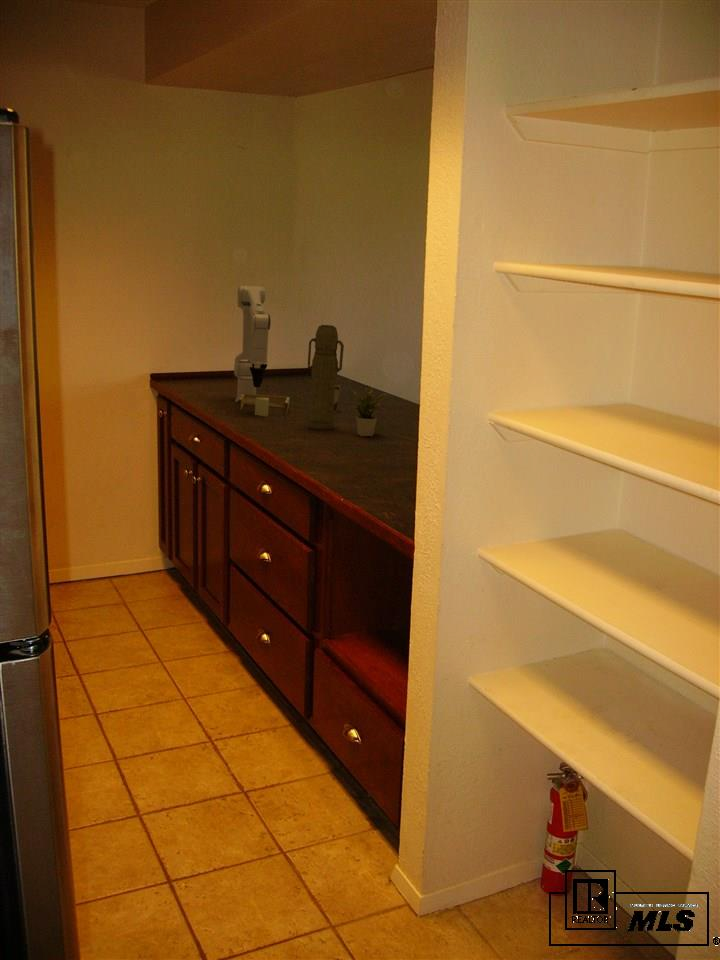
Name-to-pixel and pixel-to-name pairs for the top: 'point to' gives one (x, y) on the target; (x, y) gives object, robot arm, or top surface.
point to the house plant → (366, 414)
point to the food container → (336, 396)
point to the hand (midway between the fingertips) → (257, 385)
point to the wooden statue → (324, 377)
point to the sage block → (261, 406)
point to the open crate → (273, 400)
